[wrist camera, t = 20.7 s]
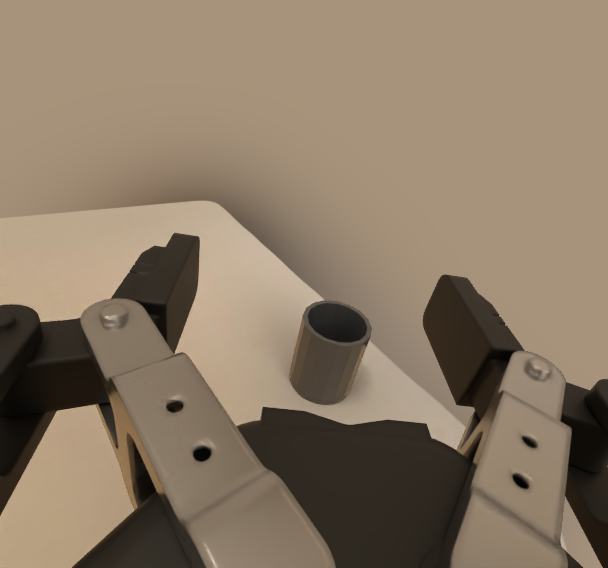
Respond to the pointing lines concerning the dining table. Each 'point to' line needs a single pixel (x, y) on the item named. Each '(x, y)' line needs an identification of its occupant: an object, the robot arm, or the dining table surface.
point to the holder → (328, 351)
